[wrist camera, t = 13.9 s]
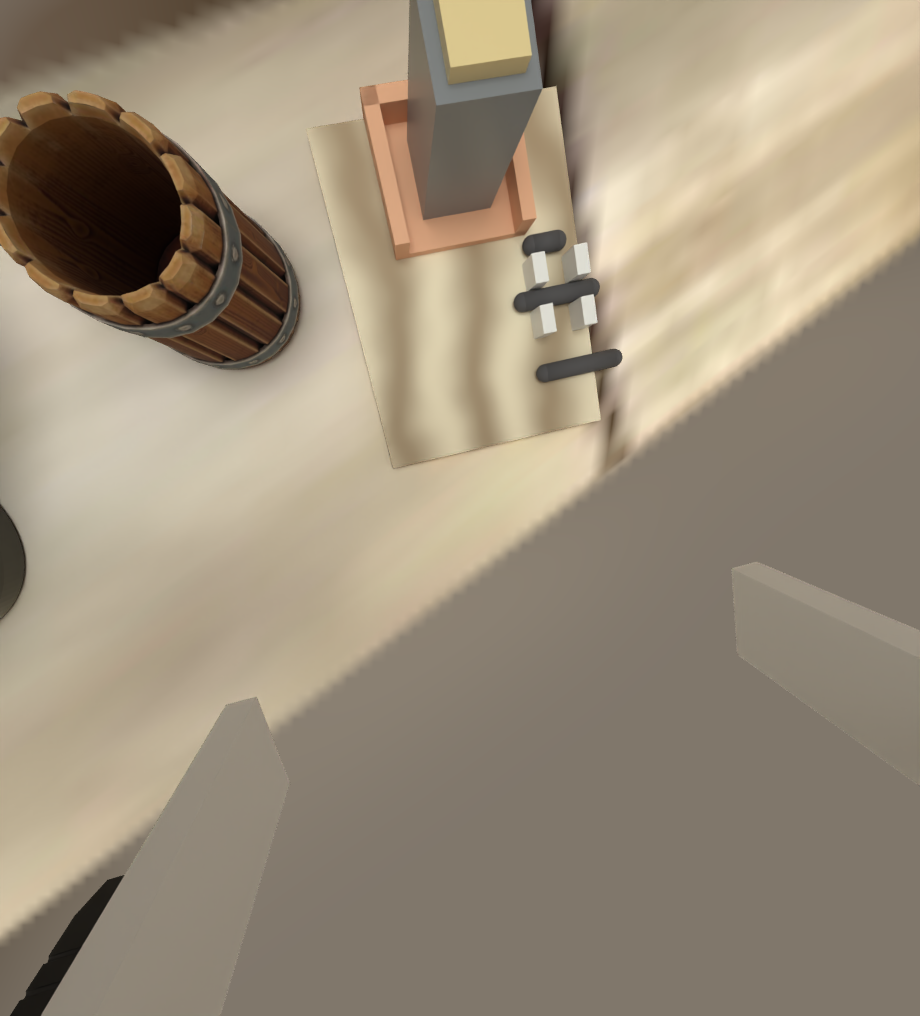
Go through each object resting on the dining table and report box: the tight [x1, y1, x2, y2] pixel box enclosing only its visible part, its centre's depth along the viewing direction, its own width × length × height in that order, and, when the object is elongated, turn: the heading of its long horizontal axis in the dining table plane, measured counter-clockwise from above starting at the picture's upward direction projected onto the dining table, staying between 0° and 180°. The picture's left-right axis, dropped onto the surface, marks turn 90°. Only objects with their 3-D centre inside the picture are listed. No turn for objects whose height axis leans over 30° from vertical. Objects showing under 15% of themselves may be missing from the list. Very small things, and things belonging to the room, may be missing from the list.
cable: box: [514, 230, 622, 382], centre depth 34 cm, size 8×11×1 cm
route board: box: [306, 87, 601, 469], centre depth 34 cm, size 18×24×1 cm
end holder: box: [360, 80, 537, 260], centre depth 30 cm, size 10×9×3 cm
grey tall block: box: [407, 0, 543, 220], centre depth 24 cm, size 5×5×13 cm
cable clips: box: [522, 243, 597, 339], centre depth 33 cm, size 4×6×2 cm
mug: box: [0, 90, 300, 369], centre depth 25 cm, size 16×11×15 cm
